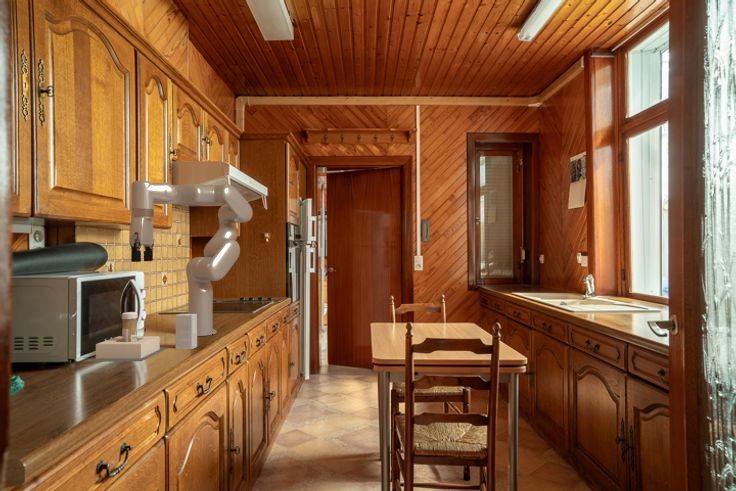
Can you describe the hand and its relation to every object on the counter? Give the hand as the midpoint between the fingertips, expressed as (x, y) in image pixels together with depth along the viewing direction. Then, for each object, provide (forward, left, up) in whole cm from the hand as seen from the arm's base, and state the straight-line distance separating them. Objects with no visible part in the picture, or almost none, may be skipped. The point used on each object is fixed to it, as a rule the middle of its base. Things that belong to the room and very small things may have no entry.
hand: (142, 261), depth 175 cm
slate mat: (+19, +4, -30) cm, 36 cm away
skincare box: (+8, +19, -31) cm, 37 cm away
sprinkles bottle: (+18, +4, -30) cm, 35 cm away
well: (+18, +4, -30) cm, 35 cm away
